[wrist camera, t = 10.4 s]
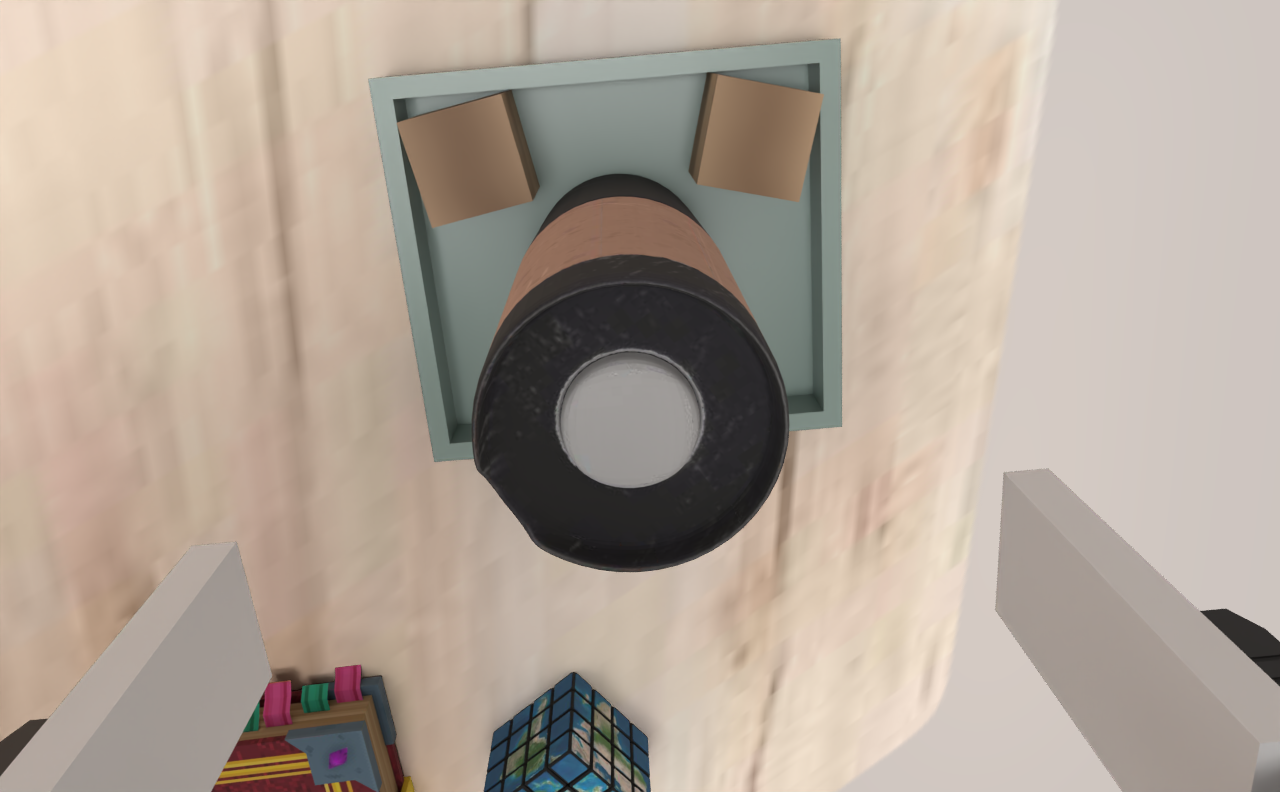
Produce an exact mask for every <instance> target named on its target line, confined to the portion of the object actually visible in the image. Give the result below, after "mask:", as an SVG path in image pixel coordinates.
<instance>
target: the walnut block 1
mask: <svg viewBox="0 0 1280 792" xmlns="http://www.w3.org/2000/svg"><path fill="white" fill-rule="evenodd" d="M397 126H398V129H399V132H400V135H401V138H402V141H403V144H404V147H405V150H406V153H407V156H408V158H409V161H410V164H411V167H412V170H413V173H414V176H415V179H416V182H417V185H418V188H419V191H420V194H421V197H422V200H423V203H424V206H425V208H426V211H427V214H428V217H429V220H430V223H431V226H432V228H435V227H438V226H442V225H446V224H449V223H453V222H457V221H460V220H464V219H468V218H472V217H475V216H479V215H483V214H486V213H490V212H494V211H498V210H501V209H505V208H509V207H512V206H516V205H520V204H524V203H527V202H531V201H533V199H534V197H535V195H536V193H537V191H538V189H539V187H540V185H539V182H538V179H537V175H536V172H535V168H534V165H533V162H532V158H531V155H530V151H529V148H528V145H527V141H526V138H525V134H524V131H523V128H522V124H521V121H520V117H519V114H518V111H517V107H516V104H515V100H514V97H513V94H512V90H508V91H504V92H500V93H497V94H493V95H490V96H486V97H482V98H479V99H475V100H472V101H468V102H464V103H461V104H457V105H454V106H450V107H446V108H443V109H439V110H436V111H432V112H428V113H425V114H421V115H418V116H415V117H412V118H409V119H406V120H403V121H400V122H398V123H397Z"/></svg>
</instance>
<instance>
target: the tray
mask: <svg viewBox="0 0 1280 792" xmlns="http://www.w3.org/2000/svg"><path fill="white" fill-rule="evenodd" d="M707 72H710V73H715V74H720V75H726V76H731V77H736V78H742V79H747V80H752V81H758V82H763V83H768V84H774V85H779V86H785V87H790V88H795V89H801V90H806V91H810V92H815V93H820V94H824V97H823V101H822V105H821V110H820V114H819V118H818V123H817V127H816V131H815V135H814V140H813V144H812V148H811V153H810V157H809V161H808V166H807V170H806V174H805V179H804V183H803V187H802V192H801V196H800V200H799V202H795V201H789V200H783V199H778V198H772V197H766V196H761V195H755V194H749V193H743V192H738V191H732V190H726V189H721V188H715V187H709V186H703V185H698V184H696V182H695V181H694V179H693V178H692V176H691V175H690V173H689V172H688V170H689V165H690V160H691V154H692V149H693V144H694V139H695V133H696V128H697V123H698V117H699V112H700V107H701V102H702V96H703V91H704V86H705V80H706V75H707ZM368 81H369V86H370V92H371V98H372V104H373V109H374V115H375V121H376V127H377V133H378V138H379V144H380V150H381V156H382V162H383V167H384V173H385V179H386V185H387V191H388V196H389V202H390V208H391V214H392V219H393V225H394V231H395V237H396V243H397V248H398V254H399V260H400V266H401V272H402V277H403V283H404V289H405V295H406V301H407V306H408V312H409V318H410V324H411V329H412V335H413V341H414V347H415V353H416V358H417V364H418V370H419V376H420V382H421V387H422V393H423V399H424V405H425V410H426V416H427V422H428V428H429V434H430V439H431V445H432V451H433V457H434V462H440V461H452V460H463V459H474V456H473V448H472V422H471V420H472V411H473V402H474V396H475V392H476V388H477V384H478V380H479V377H480V374H481V371H482V368H483V366H484V363H485V360H486V357H487V355H488V352H489V349H490V346H491V344H492V341H493V338H494V335H495V332H496V330H497V327H498V324H499V321H500V318H501V316H502V313H503V310H504V307H505V305H506V302H507V299H508V296H509V293H510V291H511V288H512V285H513V282H514V280H515V277H516V274H517V271H518V269H519V266H520V264H521V261H522V259H523V257H524V255H525V253H526V252H527V250H528V248H529V246H530V245H531V243H532V241H533V239H534V238H535V236H536V234H537V233H538V231H539V229H540V227H541V226H542V224H543V222H544V221H545V219H546V217H547V215H548V214H549V212H550V211H551V210H552V208H553V207H554V206H555V204H556V203H557V202H558V201H559V200H560V199H561V198H562V197H563V196H564V195H565V194H566V193H568V192H569V191H570V190H572V189H573V188H574V187H576V186H578V185H579V184H581V183H583V182H585V181H587V180H590V179H592V178H595V177H599V176H603V175H609V174H631V175H638V176H641V177H645V178H648V179H650V180H653V181H655V182H657V183H659V184H661V185H662V186H664V187H666V188H667V189H669V190H670V191H671V192H673V193H674V194H675V195H676V196H678V197H679V199H680V200H681V201H682V202H683V203H684V204H685V205H686V206H687V207H688V208H689V210H690V211H691V212H692V214H693V215H694V216H695V217H696V219H697V220H698V221H699V223H700V224H701V225H702V227H703V228H704V229H705V231H706V232H707V233H708V234H709V236H710V237H711V239H712V240H713V241H714V243H715V244H716V246H717V247H718V249H719V250H720V252H721V254H722V256H723V258H724V260H725V262H726V264H727V266H728V268H729V270H730V272H731V274H732V276H733V277H734V279H735V281H736V283H737V285H738V287H739V289H740V291H741V293H742V295H743V297H744V299H745V301H746V303H747V305H748V307H749V309H750V311H751V313H752V315H753V317H754V319H755V321H756V323H757V325H758V327H759V329H760V331H761V332H762V334H763V336H764V338H765V340H766V342H767V344H768V346H769V348H770V350H771V352H772V354H773V356H774V358H775V360H776V362H777V364H778V367H779V370H780V373H781V375H782V378H783V381H784V384H785V389H786V394H787V399H788V406H789V424H790V425H789V431H797V430H809V429H820V428H832V427H842V295H841V42H840V39H822V40H810V41H799V42H787V43H775V44H764V45H752V46H740V47H728V48H717V49H705V50H693V51H682V52H670V53H658V54H646V55H635V56H623V57H611V58H600V59H588V60H576V61H564V62H553V63H541V64H529V65H518V66H506V67H494V68H482V69H471V70H459V71H447V72H436V73H424V74H412V75H400V76H389V77H380V78H372V79H368ZM508 90H512V94H513V97H514V100H515V104H516V107H517V111H518V114H519V117H520V121H521V124H522V128H523V131H524V134H525V138H526V141H527V145H528V148H529V151H530V155H531V158H532V162H533V165H534V168H535V172H536V175H537V179H538V182H539V185H540V187H539V189H538V191H537V193H536V195H535V197H534V199H533V201H531V202H527V203H524V204H520V205H516V206H512V207H509V208H505V209H501V210H498V211H494V212H490V213H486V214H483V215H479V216H475V217H472V218H468V219H464V220H460V221H457V222H453V223H449V224H446V225H442V226H438V227H435V228H432V226H431V223H430V220H429V217H428V214H427V211H426V208H425V206H424V203H423V200H422V197H421V194H420V191H419V188H418V185H417V182H416V179H415V176H414V173H413V170H412V167H411V164H410V161H409V158H408V156H407V153H406V150H405V147H404V144H403V141H402V138H401V135H400V132H399V129H398V126H397V123H398V122H400V121H403V120H406V119H409V118H412V117H415V116H418V115H421V114H425V113H428V112H432V111H436V110H439V109H443V108H446V107H450V106H454V105H457V104H461V103H464V102H468V101H472V100H475V99H479V98H482V97H486V96H490V95H493V94H497V93H500V92H504V91H508Z"/></svg>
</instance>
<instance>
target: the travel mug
mask: <svg viewBox="0 0 1280 792" xmlns="http://www.w3.org/2000/svg"><path fill="white" fill-rule="evenodd" d="M471 422H472V448H473V456H474V462H475V465H476V468H477V470H478V472H479V473H480V474H482V475H483V476H484V477H485V478H486V479H487V480H488V482H489V483H490V484H491V486H492V487H493V488H494V489H495V491H496V492H497V493H498V495H499V496H500V497H501V499H502V500H503V502H504V503H505V504H506V505H507V506H508V508H509V509H510V510H511V511H512V512H513V514H514V515H515V516H516V518H517V519H518V520H519V521H520V523H521V524H522V525H523V527H524V528H525V530H526V531H527V533H528V534H529V536H530V538H531V539H532V541H533V542H534V543H535V544H536V545H537V546H538V547H539V548H541V549H542V550H544V551H546V552H548V553H550V554H552V555H554V556H556V557H559V558H561V559H563V560H566V561H569V562H572V563H575V564H578V565H581V566H585V567H590V568H594V569H599V570H606V571H615V572H643V571H652V570H660V569H664V568H668V567H673V566H677V565H680V564H683V563H685V562H688V561H691V560H694V559H696V558H698V557H700V556H702V555H704V554H706V553H708V552H710V551H712V550H714V549H715V548H717V547H719V546H720V545H722V544H723V543H725V542H726V541H728V540H729V539H730V538H732V537H733V536H734V535H735V534H736V533H738V532H739V531H740V530H741V529H742V528H743V527H744V526H745V525H746V524H747V523H748V522H749V521H750V520H751V519H752V518H753V517H754V516H755V515H756V513H757V512H758V511H759V509H760V508H761V506H762V505H763V504H764V502H765V501H766V499H767V498H768V497H769V495H770V493H771V491H772V489H773V487H774V485H775V483H776V482H777V479H778V477H779V474H780V471H781V469H782V466H783V463H784V460H785V455H786V451H787V446H788V438H789V425H790V424H789V406H788V399H787V394H786V389H785V384H784V381H783V378H782V375H781V373H780V370H779V367H778V364H777V362H776V360H775V358H774V356H773V354H772V352H771V350H770V348H769V346H768V344H767V342H766V340H765V338H764V336H763V334H762V332H761V331H760V329H759V327H758V325H757V323H756V321H755V319H754V317H753V315H752V313H751V311H750V309H749V307H748V305H747V303H746V301H745V299H744V297H743V295H742V293H741V291H740V289H739V287H738V285H737V283H736V281H735V279H734V277H733V276H732V274H731V272H730V270H729V268H728V266H727V264H726V262H725V260H724V258H723V256H722V254H721V252H720V250H719V249H718V247H717V246H716V244H715V243H714V241H713V240H712V239H711V237H710V236H709V234H708V233H707V232H706V231H705V229H704V228H703V227H702V225H701V224H700V223H699V221H698V220H697V219H696V217H695V216H694V215H693V214H692V212H691V211H690V210H689V208H688V207H687V206H686V205H685V204H684V203H683V202H682V201H681V200H680V199H679V197H678V196H676V195H675V194H674V193H673V192H671V191H670V190H669V189H667V188H666V187H664V186H662V185H661V184H659V183H657V182H655V181H653V180H650V179H648V178H645V177H641V176H638V175H631V174H609V175H603V176H599V177H595V178H592V179H590V180H587V181H585V182H583V183H581V184H579V185H578V186H576V187H574V188H573V189H572V190H570V191H569V192H568V193H566V194H565V195H564V196H563V197H562V198H561V199H560V200H559V201H558V202H557V203H556V204H555V206H554V207H553V208H552V210H551V211H550V212H549V214H548V215H547V217H546V219H545V221H544V222H543V224H542V226H541V227H540V229H539V231H538V233H537V234H536V236H535V238H534V239H533V241H532V243H531V245H530V246H529V248H528V250H527V252H526V253H525V255H524V257H523V259H522V261H521V264H520V266H519V269H518V271H517V274H516V277H515V280H514V282H513V285H512V288H511V291H510V293H509V296H508V299H507V302H506V305H505V307H504V310H503V313H502V316H501V318H500V321H499V324H498V327H497V330H496V332H495V335H494V338H493V341H492V344H491V346H490V349H489V352H488V355H487V357H486V360H485V363H484V366H483V368H482V371H481V374H480V377H479V380H478V384H477V388H476V392H475V396H474V402H473V411H472V420H471Z"/></svg>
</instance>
